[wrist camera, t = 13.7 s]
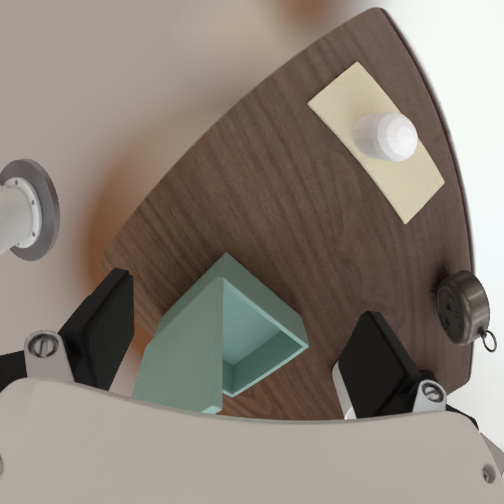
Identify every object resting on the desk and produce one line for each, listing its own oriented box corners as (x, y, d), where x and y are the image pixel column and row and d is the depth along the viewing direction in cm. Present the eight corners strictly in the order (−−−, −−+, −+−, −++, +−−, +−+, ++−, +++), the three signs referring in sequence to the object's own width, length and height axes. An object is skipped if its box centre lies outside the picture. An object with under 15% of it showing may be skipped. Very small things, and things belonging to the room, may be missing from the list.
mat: (306, 104, 27) (307, 103, 27) (355, 62, 25) (357, 61, 24) (403, 223, 33) (405, 224, 32) (442, 181, 30) (445, 182, 30)
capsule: (397, 147, 28) (434, 151, 21) (365, 165, 29) (398, 174, 22) (378, 108, 27) (413, 102, 19) (344, 126, 28) (373, 122, 20)
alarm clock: (449, 307, 39) (498, 364, 24) (426, 319, 39) (473, 382, 24) (451, 255, 35) (517, 307, 20) (426, 266, 35) (491, 327, 20)
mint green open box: (301, 316, 38) (309, 346, 32) (233, 366, 42) (232, 397, 35) (226, 251, 34) (221, 275, 28) (162, 316, 38) (149, 345, 32)
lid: (223, 409, 14) (212, 405, 14) (126, 454, 18) (119, 451, 18) (224, 280, 28) (218, 275, 27) (151, 349, 31) (145, 346, 31)
